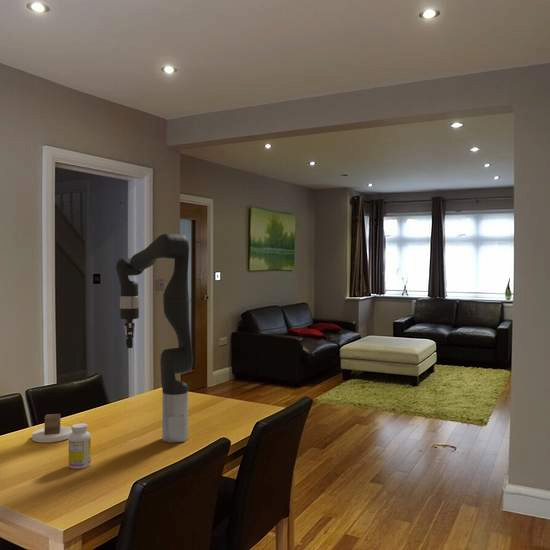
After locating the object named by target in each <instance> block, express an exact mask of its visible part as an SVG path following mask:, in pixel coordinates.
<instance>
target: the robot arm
mask: <svg viewBox="0 0 550 550" xmlns="http://www.w3.org/2000/svg"><path fill="white" fill-rule="evenodd" d="M189 255H190V244H189V239H188V237H187V236H186V235H185V234H181V233H170V232H169V233H162V234H160V235H159V236H157V237H156V238H155V239H154V240H153V241H152V242H151V243H150V244H149V245H148V246H147V247H146V248H144V249H142V250H141V251H139V252H137V253H135V254H134V255H132V257H131V258H129V257H127V258H120V259H118V260H117V262H116V265H115V270H116V274H117V278H118V281H119V285H120V298H119V318H120V319H121V320H125V322H124V323H123V327H124V334H125V336H126V337H125V338H126V339H125V340H126V343H125V344H126V348H127V349H132V348H133V347H134V341H133V340H134V337H135V336H134V334H135V322H133V320H137V319H139V318H140V300H139V283H138V282H136V281H134V280H131V279H130V278H129V276H131V277H132V276H139V275H141V274H142V273H143V272H144V271H145V270H146V269H148V268H150V267H152V266H153V265H155V263H156V261H157V259H173V260H174V266H173V273H172V275H171V278H170V279H169V281H168V283H167V285H166V287H165V290H164V291H163V298H162V299H163V304H162V305H163V314H164V316H165V318H166V319H167V321H168V323H169V324H170V326H171V327H172V329H173V331H174V332H175V334H176V338H177V344H178V347H172V348H171V347H170V348H165V349H163V350H162V351H161V354H160V358H159V359H160V360H159V362H160V366H159V367H160V381H161V383H160V384H161V387H162V388H161V391H162V398H161V399H162V400H161V401H162V402H161V404H162V405H161V406H162V408H161V411H162V414H161V415H162V416H161V417H162V419H161V420H162V422H161V423H162V427H161V430H162V431H161V433H162V435H161V439H162V441H163V442H166V443H168V444H172V443H182V442H183V443H184V442H186V440H188V439H189V423H188V422H189V385H188V384H187V383H186V382H184V381H180V380H178V379H176V374H182V373H187V372H190V371H191V370H192V367H193V363H194V358H193V348H192V341H191V340H192V339H191V330H190V299H189V298H190V296H189V277H188V276H189V260H190V259H189V258H190V257H189Z"/></svg>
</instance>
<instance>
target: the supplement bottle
mask: <svg viewBox="0 0 550 550" xmlns="http://www.w3.org/2000/svg"><path fill="white" fill-rule="evenodd" d="M71 428H72V433H71V434H70V435H69V438H67V441H68V443H67V444H68V468H71V469H73V470H79V469H85V468H87V467H89V466H90V465H91V464H92V450H91V449H92V440H91V439H92V435H91V433H90V432H89V431H87V430H88V424H87V423H75V424H73V425H71Z"/></svg>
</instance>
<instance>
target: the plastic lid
mask: <svg viewBox="0 0 550 550" xmlns="http://www.w3.org/2000/svg"><path fill="white" fill-rule="evenodd" d="M71 433H72V427H69V426H63V425H60V433H59V434H50V435H45V427H43V428H39V429H37V430H34V431H33V432H32V433H31V440H32V441H33V442H37V443H54V442H60V441H65V440H68V438H69V435H70V434H71Z"/></svg>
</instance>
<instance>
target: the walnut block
mask: <svg viewBox="0 0 550 550" xmlns="http://www.w3.org/2000/svg"><path fill="white" fill-rule="evenodd" d="M60 426H61V413H52V414H45V416H44V428H45V435H50V434H59V433H60Z"/></svg>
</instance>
